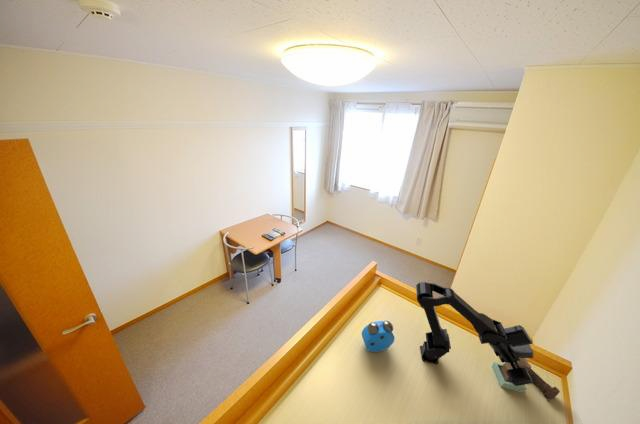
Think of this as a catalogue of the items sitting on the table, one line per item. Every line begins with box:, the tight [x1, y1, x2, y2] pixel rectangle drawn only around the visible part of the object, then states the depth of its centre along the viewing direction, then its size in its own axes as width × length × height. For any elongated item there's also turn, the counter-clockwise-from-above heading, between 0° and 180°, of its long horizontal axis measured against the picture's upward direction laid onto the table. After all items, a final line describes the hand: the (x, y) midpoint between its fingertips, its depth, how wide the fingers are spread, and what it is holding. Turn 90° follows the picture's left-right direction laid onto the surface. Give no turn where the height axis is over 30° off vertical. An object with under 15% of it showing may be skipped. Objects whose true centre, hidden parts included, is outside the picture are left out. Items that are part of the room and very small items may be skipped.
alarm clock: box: [361, 320, 395, 353], centre depth 98 cm, size 13×6×15 cm, turn 100°
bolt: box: [528, 363, 560, 401], centre depth 92 cm, size 6×5×15 cm
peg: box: [500, 358, 532, 383], centre depth 89 cm, size 4×4×13 cm
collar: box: [491, 361, 528, 393], centre depth 91 cm, size 8×8×3 cm
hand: (518, 369), depth 88 cm, fingers open, 9 cm apart
